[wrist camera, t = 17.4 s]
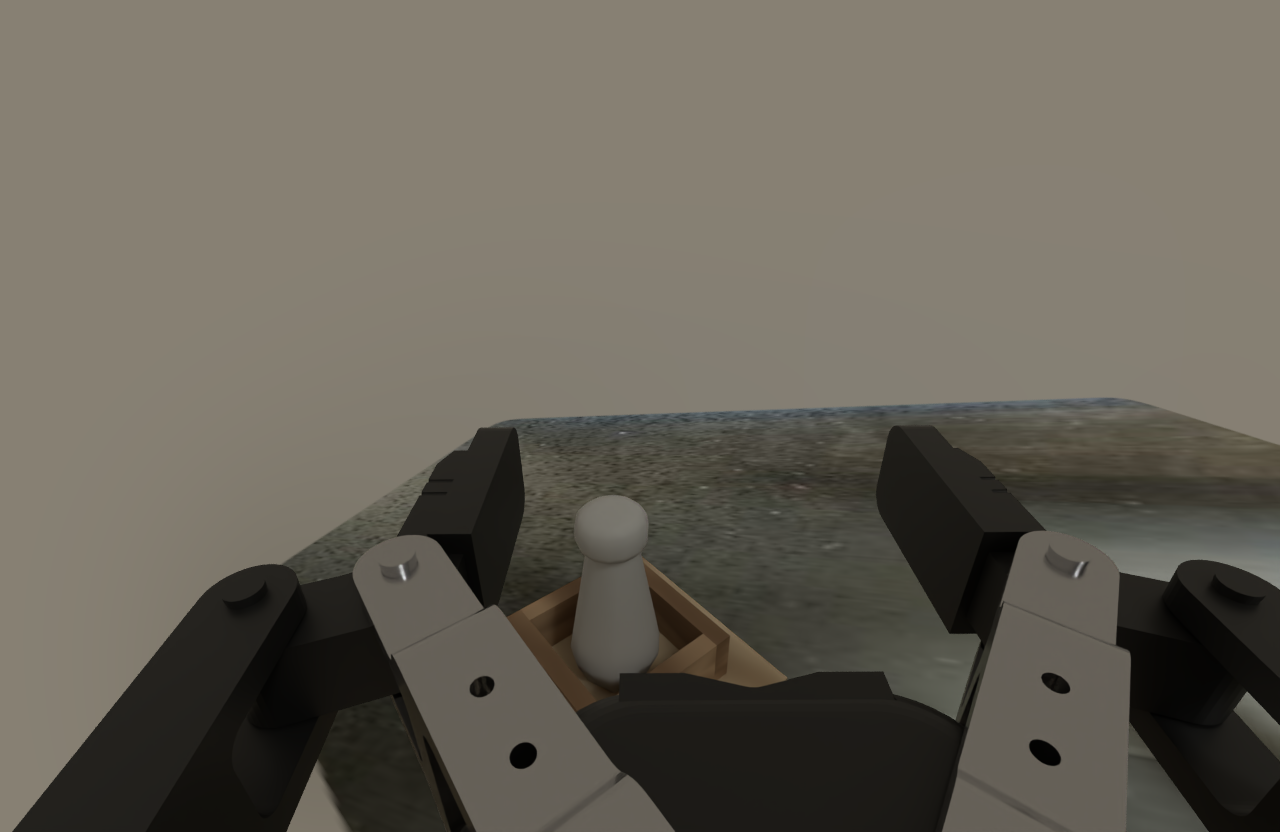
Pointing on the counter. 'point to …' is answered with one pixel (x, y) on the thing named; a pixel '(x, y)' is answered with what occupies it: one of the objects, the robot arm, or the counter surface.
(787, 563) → the counter surface
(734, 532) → the counter surface
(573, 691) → the socket holder
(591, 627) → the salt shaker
